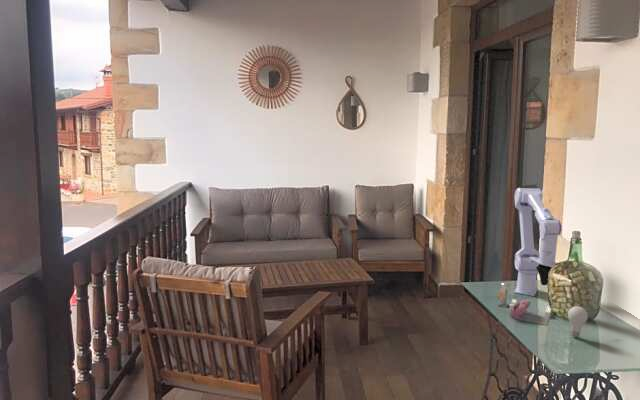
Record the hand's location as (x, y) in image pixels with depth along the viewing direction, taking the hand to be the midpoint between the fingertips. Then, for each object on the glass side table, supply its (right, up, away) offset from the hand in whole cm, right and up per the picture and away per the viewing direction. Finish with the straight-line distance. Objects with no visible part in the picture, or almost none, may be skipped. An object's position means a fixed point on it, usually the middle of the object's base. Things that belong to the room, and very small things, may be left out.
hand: (544, 284), depth 202 cm
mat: (-9, -11, -9) cm, 17 cm away
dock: (-8, -9, -1) cm, 12 cm away
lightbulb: (0, -14, -24) cm, 28 cm away
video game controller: (-12, -11, -6) cm, 17 cm away
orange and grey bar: (-17, -3, -3) cm, 17 cm away
